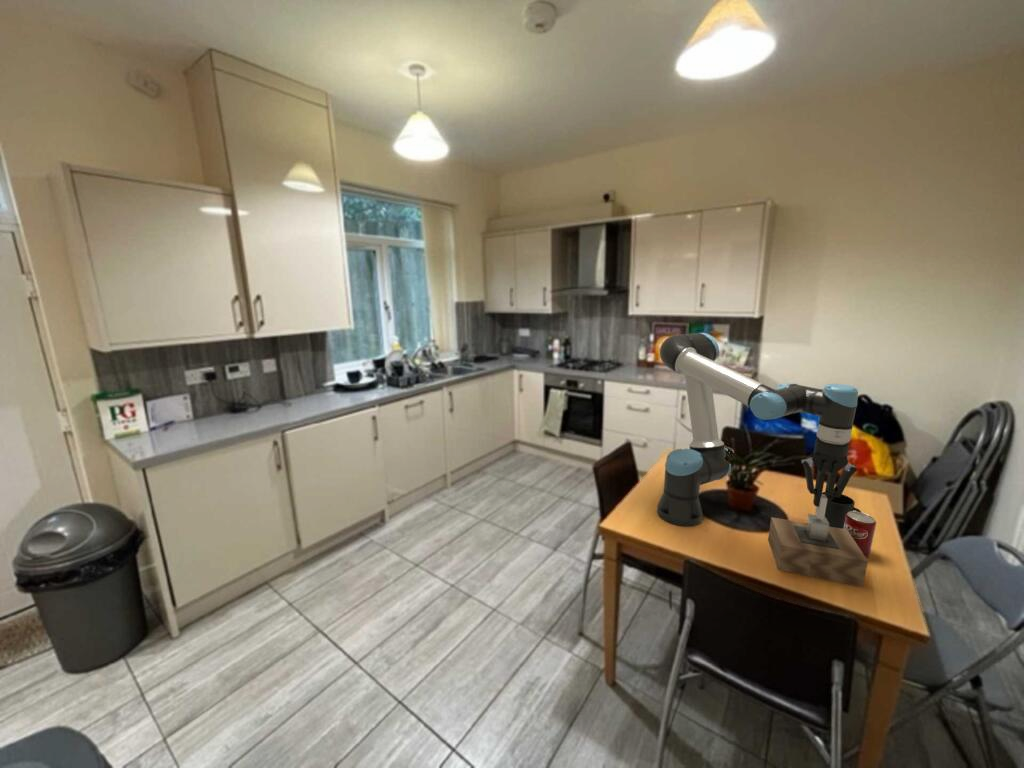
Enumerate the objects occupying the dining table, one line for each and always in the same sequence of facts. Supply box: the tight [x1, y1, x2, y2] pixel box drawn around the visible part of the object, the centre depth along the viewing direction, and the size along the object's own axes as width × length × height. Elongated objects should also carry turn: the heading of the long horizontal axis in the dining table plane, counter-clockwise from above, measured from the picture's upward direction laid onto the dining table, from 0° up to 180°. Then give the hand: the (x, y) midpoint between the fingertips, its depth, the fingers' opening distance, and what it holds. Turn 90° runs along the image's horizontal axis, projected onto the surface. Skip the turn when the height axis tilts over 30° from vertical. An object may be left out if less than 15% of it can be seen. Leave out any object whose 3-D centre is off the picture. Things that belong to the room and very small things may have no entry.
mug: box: [822, 491, 862, 529], centre depth 146 cm, size 9×12×9 cm
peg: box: [806, 513, 830, 542], centre depth 125 cm, size 4×4×8 cm
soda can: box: [843, 510, 877, 558], centre depth 130 cm, size 7×7×12 cm
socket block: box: [767, 516, 869, 587], centre depth 126 cm, size 20×16×8 cm
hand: (819, 516), depth 123 cm, fingers closed
